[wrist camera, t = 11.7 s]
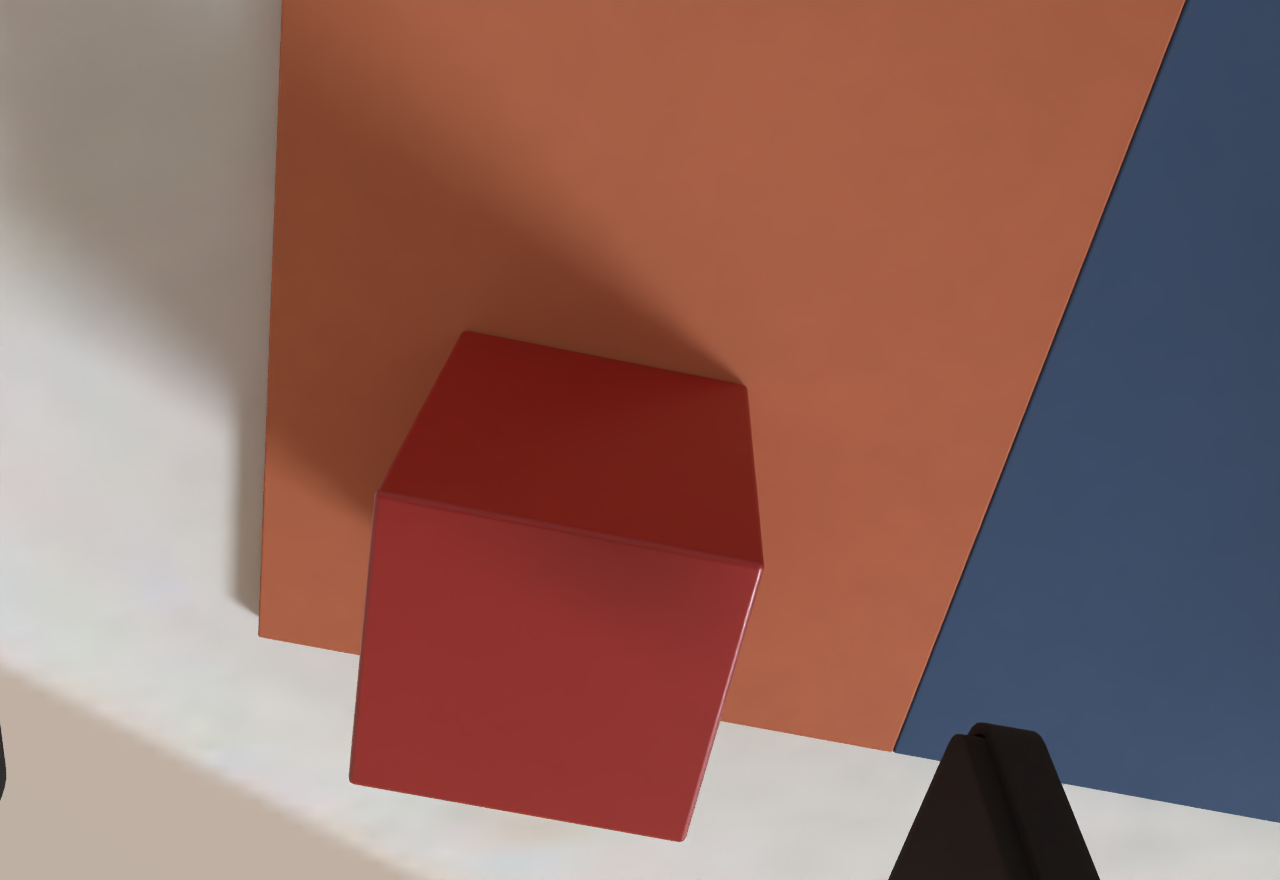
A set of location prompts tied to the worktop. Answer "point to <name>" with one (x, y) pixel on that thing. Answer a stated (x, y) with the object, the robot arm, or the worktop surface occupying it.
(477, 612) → the red block
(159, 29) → the worktop surface
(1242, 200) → the mat
